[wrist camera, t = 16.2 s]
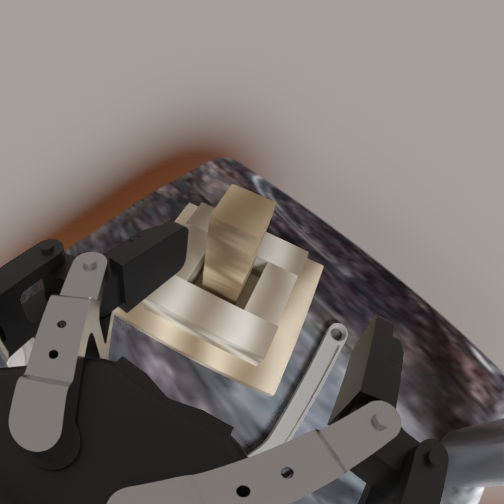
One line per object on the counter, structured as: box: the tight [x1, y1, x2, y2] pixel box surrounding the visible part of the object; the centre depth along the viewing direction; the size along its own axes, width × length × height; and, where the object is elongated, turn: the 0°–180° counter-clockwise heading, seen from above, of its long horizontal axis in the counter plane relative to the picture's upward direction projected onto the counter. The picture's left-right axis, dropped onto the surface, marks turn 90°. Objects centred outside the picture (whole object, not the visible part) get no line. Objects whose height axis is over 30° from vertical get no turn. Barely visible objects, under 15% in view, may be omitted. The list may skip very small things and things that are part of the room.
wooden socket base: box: [114, 202, 324, 397], centre depth 34 cm, size 20×18×6 cm
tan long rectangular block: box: [202, 184, 277, 305], centre depth 29 cm, size 4×5×14 cm
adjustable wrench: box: [247, 323, 348, 457], centre depth 29 cm, size 25×6×2 cm, turn 143°
